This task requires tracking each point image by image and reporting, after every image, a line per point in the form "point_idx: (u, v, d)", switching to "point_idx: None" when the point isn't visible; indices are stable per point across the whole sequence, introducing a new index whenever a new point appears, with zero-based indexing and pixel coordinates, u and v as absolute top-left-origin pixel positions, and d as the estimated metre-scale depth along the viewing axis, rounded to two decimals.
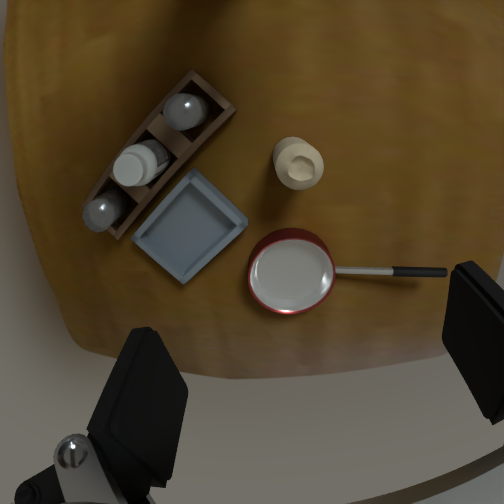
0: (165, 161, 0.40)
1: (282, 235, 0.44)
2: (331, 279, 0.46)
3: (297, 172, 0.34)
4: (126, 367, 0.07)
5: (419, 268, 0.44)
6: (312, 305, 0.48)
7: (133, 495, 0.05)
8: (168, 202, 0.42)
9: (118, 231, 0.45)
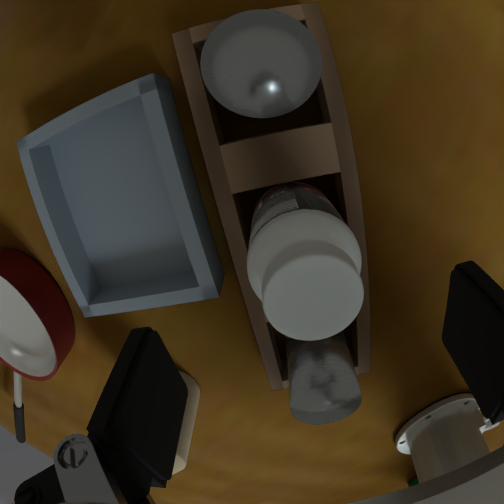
0: None
1: (63, 346, 0.23)
2: (5, 358, 0.24)
3: None
4: (126, 367, 0.07)
5: (22, 426, 0.29)
6: None
7: (133, 495, 0.05)
8: (180, 221, 0.18)
9: (189, 48, 0.14)
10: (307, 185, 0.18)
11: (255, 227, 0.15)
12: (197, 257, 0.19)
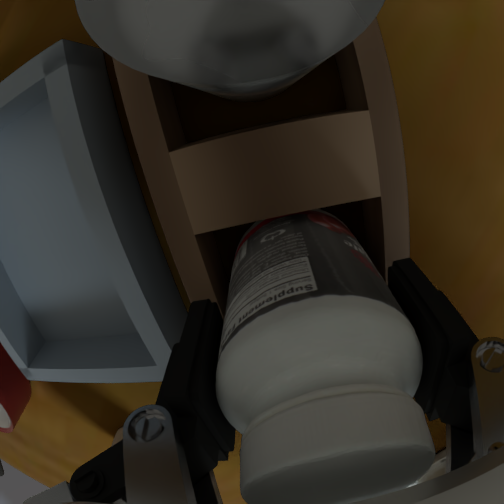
0: None
1: (16, 402, 0.16)
2: None
3: None
4: (195, 335, 0.08)
5: None
6: None
7: (203, 467, 0.06)
8: (116, 278, 0.10)
9: None
10: (322, 214, 0.11)
11: (231, 310, 0.08)
12: (148, 330, 0.11)
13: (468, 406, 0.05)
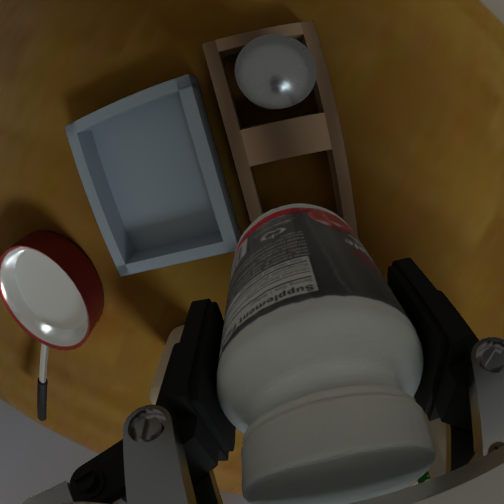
0: None
1: (95, 313, 0.28)
2: (35, 333, 0.29)
3: None
4: (195, 335, 0.08)
5: (45, 402, 0.34)
6: (6, 300, 0.27)
7: (203, 467, 0.06)
8: (209, 188, 0.23)
9: (215, 56, 0.19)
10: (322, 211, 0.11)
11: (232, 309, 0.08)
12: (222, 217, 0.24)
13: (468, 406, 0.05)
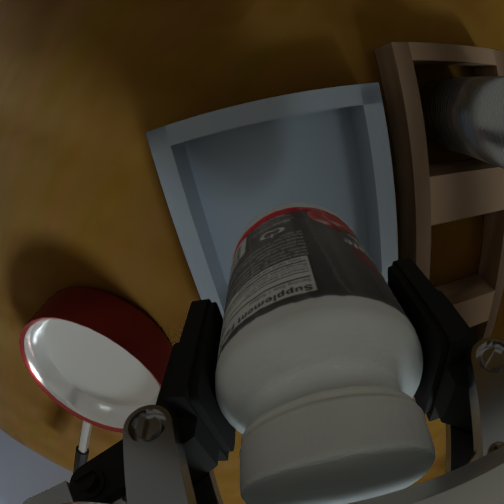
0: None
1: None
2: (78, 411, 0.22)
3: None
4: (195, 335, 0.08)
5: None
6: (34, 373, 0.20)
7: (203, 467, 0.06)
8: (384, 252, 0.15)
9: (409, 65, 0.12)
10: (321, 211, 0.11)
11: (230, 309, 0.08)
12: None
13: (468, 406, 0.05)
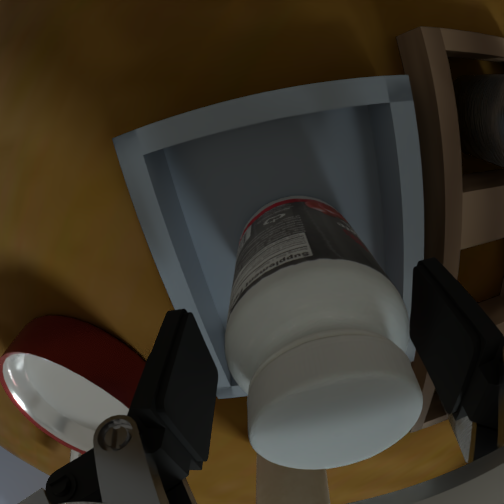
0: None
1: None
2: (64, 439, 0.19)
3: None
4: (167, 346, 0.08)
5: None
6: (17, 402, 0.17)
7: (173, 477, 0.06)
8: (407, 283, 0.12)
9: (442, 56, 0.09)
10: (318, 202, 0.12)
11: (238, 280, 0.09)
12: None
13: (495, 402, 0.05)
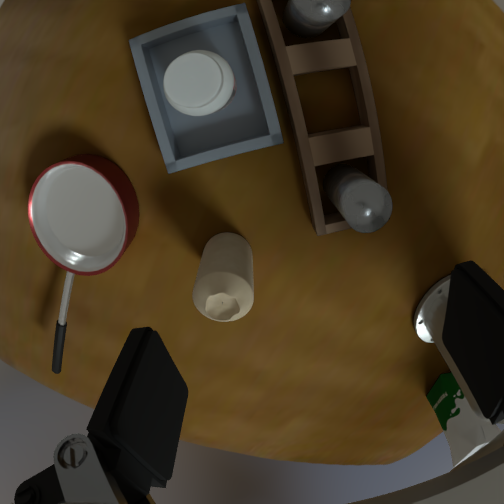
0: None
1: (132, 229, 0.31)
2: (62, 262, 0.31)
3: (218, 296, 0.27)
4: (126, 367, 0.07)
5: (62, 349, 0.37)
6: (34, 228, 0.29)
7: (133, 495, 0.05)
8: (260, 88, 0.25)
9: None
10: None
11: None
12: (270, 113, 0.26)
13: None
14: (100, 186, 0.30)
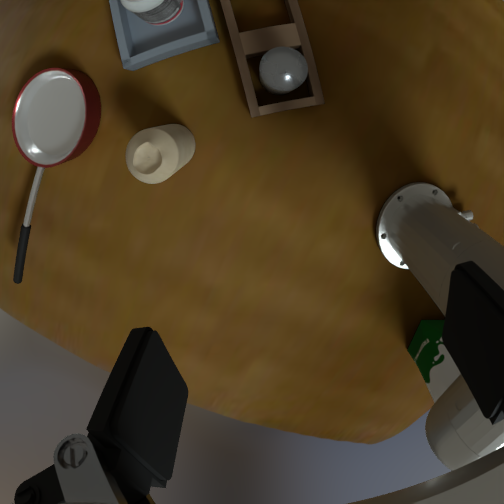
0: (141, 18, 0.25)
1: (91, 122, 0.31)
2: (32, 158, 0.32)
3: (145, 151, 0.27)
4: (126, 367, 0.07)
5: (23, 255, 0.37)
6: (15, 130, 0.30)
7: (133, 495, 0.05)
8: None
9: None
10: None
11: None
12: (206, 15, 0.26)
13: None
14: (71, 91, 0.30)
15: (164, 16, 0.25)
